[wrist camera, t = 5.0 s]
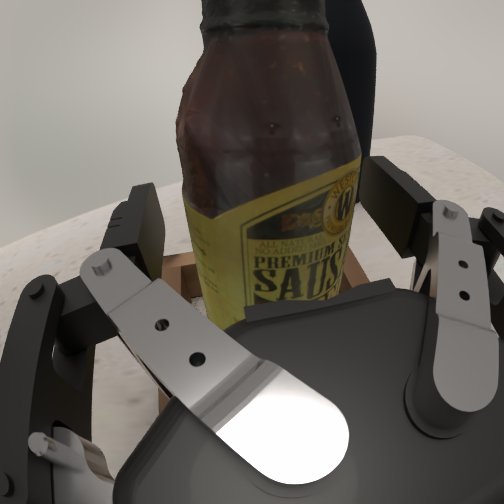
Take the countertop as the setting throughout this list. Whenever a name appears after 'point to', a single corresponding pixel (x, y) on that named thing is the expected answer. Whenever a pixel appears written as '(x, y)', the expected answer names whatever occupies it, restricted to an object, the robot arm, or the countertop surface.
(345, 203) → the sauce bottle
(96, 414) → the countertop surface
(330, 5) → the black water bottle
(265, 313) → the robot arm
